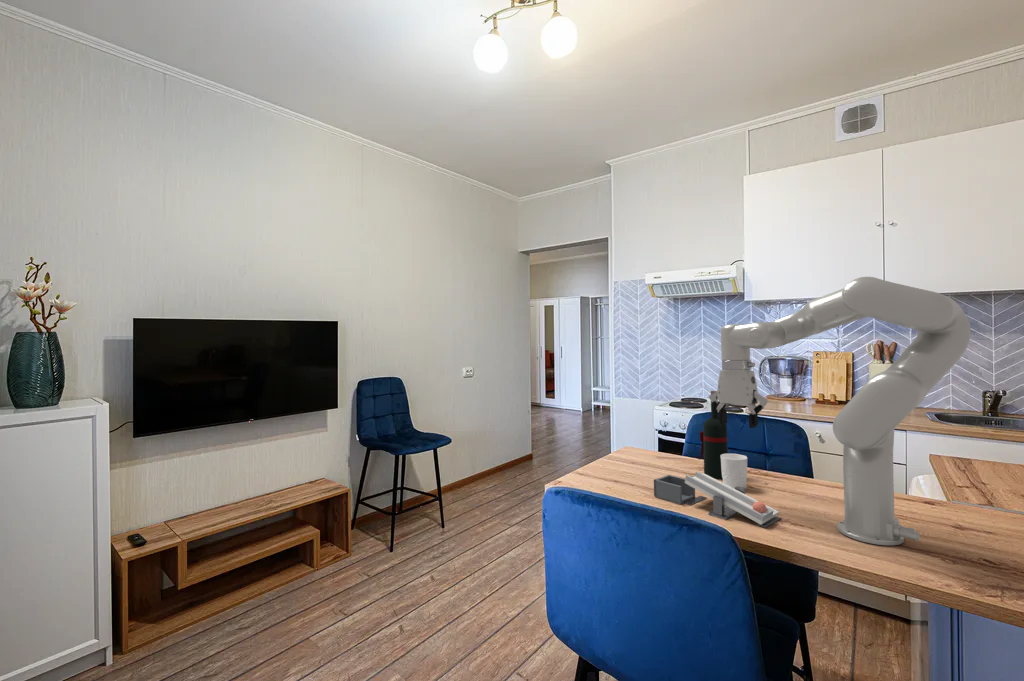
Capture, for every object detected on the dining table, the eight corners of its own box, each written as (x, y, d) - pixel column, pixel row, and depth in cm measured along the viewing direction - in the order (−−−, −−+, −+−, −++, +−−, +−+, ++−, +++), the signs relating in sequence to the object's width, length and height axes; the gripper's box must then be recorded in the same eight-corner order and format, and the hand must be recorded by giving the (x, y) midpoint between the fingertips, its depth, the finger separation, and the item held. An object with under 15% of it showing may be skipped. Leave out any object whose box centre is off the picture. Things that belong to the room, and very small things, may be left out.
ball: (766, 515, 117) (770, 505, 116) (760, 518, 115) (765, 508, 114) (754, 507, 119) (758, 497, 118) (748, 510, 117) (752, 500, 116)
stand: (784, 516, 120) (784, 497, 120) (761, 530, 112) (760, 509, 112) (704, 494, 138) (704, 478, 138) (679, 505, 130) (678, 487, 130)
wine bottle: (705, 470, 164) (702, 389, 164) (732, 476, 156) (730, 390, 156) (693, 474, 159) (691, 390, 160) (721, 480, 151) (719, 392, 152)
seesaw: (778, 514, 120) (780, 506, 119) (761, 524, 113) (763, 516, 113) (702, 476, 136) (704, 468, 136) (684, 482, 130) (686, 475, 130)
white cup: (742, 483, 148) (741, 453, 148) (752, 491, 140) (751, 459, 141) (717, 483, 149) (716, 453, 149) (726, 491, 141) (725, 459, 141)
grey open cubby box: (695, 498, 135) (694, 481, 135) (680, 504, 130) (680, 486, 130) (669, 490, 142) (668, 474, 142) (654, 496, 138) (653, 479, 138)
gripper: (773, 366, 126) (775, 427, 126) (714, 365, 140) (715, 420, 140) (761, 367, 122) (763, 431, 122) (701, 366, 136) (703, 423, 135)
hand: (737, 425), depth 131 cm, fingers open, 8 cm apart
